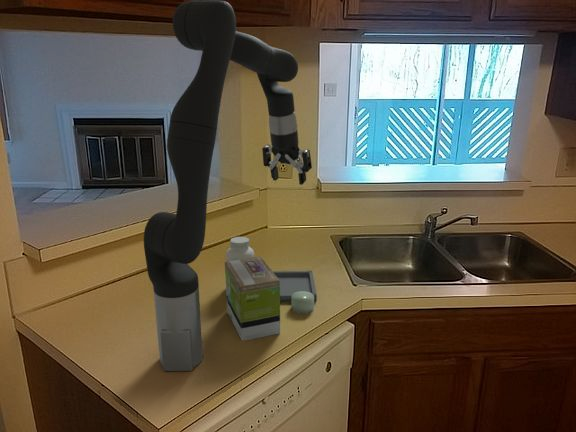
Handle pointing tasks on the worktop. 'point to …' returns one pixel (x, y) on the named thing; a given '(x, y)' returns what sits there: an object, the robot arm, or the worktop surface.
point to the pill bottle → (239, 249)
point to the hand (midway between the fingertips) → (289, 181)
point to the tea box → (253, 298)
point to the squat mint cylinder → (302, 302)
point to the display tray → (295, 283)
